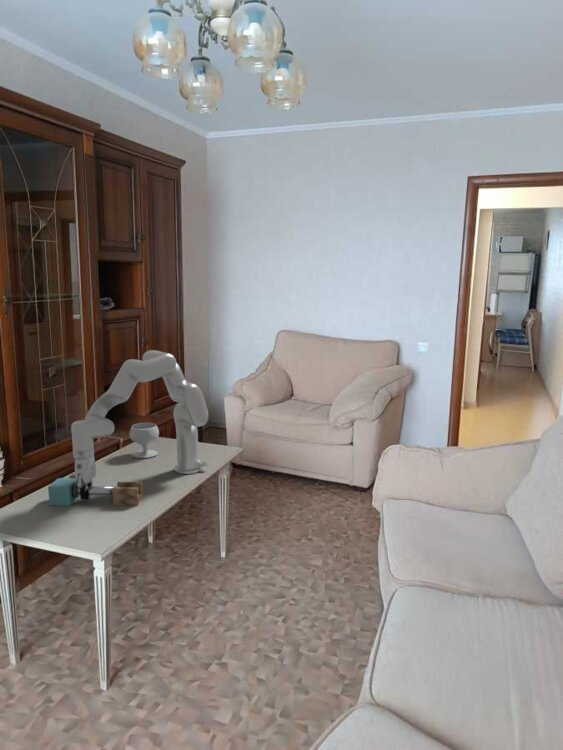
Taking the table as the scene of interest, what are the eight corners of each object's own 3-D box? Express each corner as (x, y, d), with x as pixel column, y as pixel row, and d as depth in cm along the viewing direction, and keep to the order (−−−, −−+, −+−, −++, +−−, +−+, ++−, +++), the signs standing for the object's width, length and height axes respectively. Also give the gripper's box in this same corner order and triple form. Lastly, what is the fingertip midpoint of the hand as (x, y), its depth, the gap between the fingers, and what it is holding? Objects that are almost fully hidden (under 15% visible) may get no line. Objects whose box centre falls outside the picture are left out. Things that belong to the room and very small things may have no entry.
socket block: (79, 496, 217) (78, 478, 216) (70, 505, 209) (68, 487, 207) (59, 496, 218) (58, 478, 216) (49, 505, 209) (48, 486, 207)
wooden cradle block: (142, 498, 216) (142, 482, 215) (138, 505, 209) (137, 488, 208) (119, 497, 216) (118, 481, 215) (113, 505, 209) (112, 488, 208)
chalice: (165, 452, 271) (164, 423, 269) (148, 461, 259) (146, 430, 256) (142, 449, 277) (141, 420, 274) (124, 457, 264) (123, 427, 262)
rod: (121, 494, 215) (121, 481, 214) (117, 500, 210) (116, 487, 209) (57, 494, 216) (56, 481, 215) (51, 499, 210) (50, 486, 209)
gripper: (85, 459, 201) (88, 506, 204) (100, 445, 217) (103, 489, 221) (65, 459, 201) (68, 506, 205) (82, 445, 218) (85, 489, 221)
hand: (86, 496), depth 213 cm, fingers closed on rod, 3 cm apart
